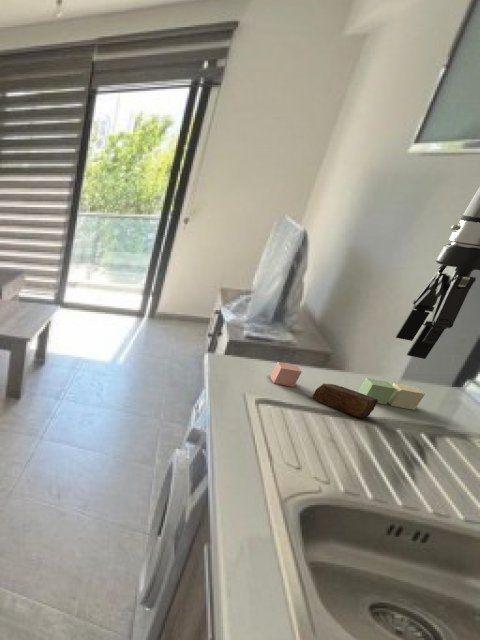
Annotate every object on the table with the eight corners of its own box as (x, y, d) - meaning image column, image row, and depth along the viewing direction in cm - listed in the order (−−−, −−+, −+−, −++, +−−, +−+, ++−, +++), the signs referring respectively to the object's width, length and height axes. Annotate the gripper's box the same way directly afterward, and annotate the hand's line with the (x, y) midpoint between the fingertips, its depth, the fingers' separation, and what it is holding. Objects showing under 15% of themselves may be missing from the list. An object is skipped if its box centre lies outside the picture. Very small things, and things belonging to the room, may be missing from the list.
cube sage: (385, 404, 120) (395, 388, 118) (363, 400, 122) (372, 384, 120) (378, 397, 124) (388, 381, 121) (356, 393, 125) (366, 377, 123)
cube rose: (294, 387, 127) (301, 371, 125) (273, 383, 129) (281, 368, 126) (289, 380, 131) (297, 365, 128) (270, 377, 132) (277, 362, 130)
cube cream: (414, 410, 118) (425, 394, 116) (391, 405, 120) (401, 389, 117) (406, 402, 122) (416, 386, 119) (383, 398, 123) (393, 382, 121)
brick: (369, 416, 114) (380, 399, 112) (360, 419, 112) (370, 401, 110) (319, 397, 122) (328, 380, 120) (310, 399, 121) (319, 382, 119)
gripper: (432, 235, 104) (378, 328, 114) (463, 251, 86) (395, 359, 96) (482, 241, 100) (421, 336, 110) (525, 258, 82) (448, 370, 92)
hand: (409, 347), depth 103 cm, fingers open, 13 cm apart
